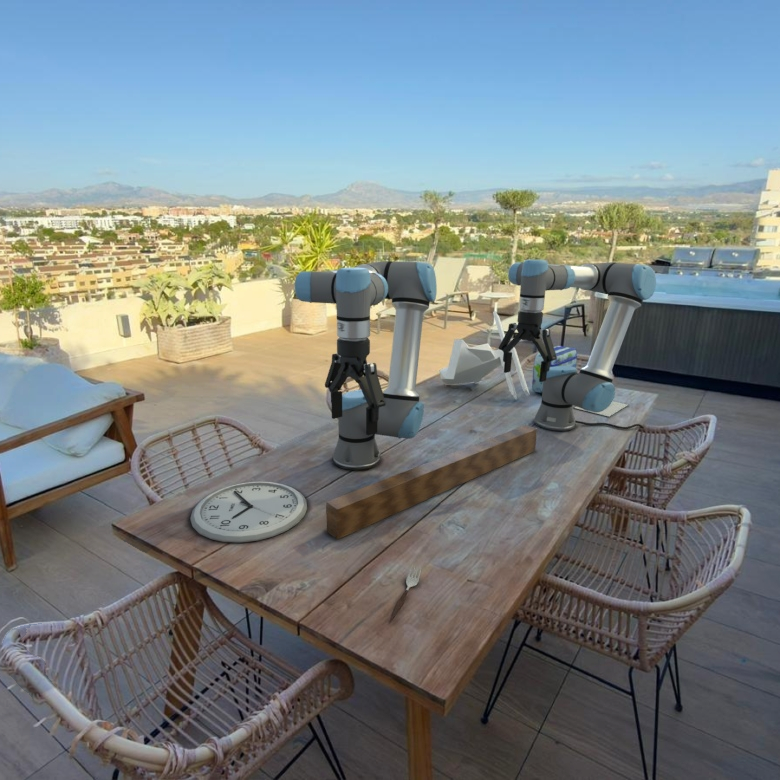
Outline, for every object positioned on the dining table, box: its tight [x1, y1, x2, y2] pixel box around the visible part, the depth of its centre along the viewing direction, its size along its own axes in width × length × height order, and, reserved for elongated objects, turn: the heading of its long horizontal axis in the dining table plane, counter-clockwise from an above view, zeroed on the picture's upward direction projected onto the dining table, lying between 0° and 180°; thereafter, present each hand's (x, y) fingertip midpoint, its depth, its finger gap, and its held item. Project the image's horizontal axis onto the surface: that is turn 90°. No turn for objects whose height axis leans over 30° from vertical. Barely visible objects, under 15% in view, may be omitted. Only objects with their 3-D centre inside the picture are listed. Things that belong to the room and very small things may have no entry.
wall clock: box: [190, 481, 308, 544], centre depth 139 cm, size 30×2×30 cm
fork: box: [391, 565, 422, 620], centre depth 108 cm, size 3×16×2 cm, turn 160°
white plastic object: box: [438, 310, 531, 400], centre depth 245 cm, size 37×45×31 cm
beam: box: [325, 424, 538, 540], centre depth 154 cm, size 83×5×8 cm, turn 131°
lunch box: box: [531, 345, 578, 394], centre depth 244 cm, size 26×11×21 cm, turn 135°
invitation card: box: [573, 400, 629, 418], centre depth 226 cm, size 21×1×15 cm
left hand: (353, 425), depth 125 cm, fingers open, 13 cm apart
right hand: (524, 376), depth 169 cm, fingers open, 13 cm apart
